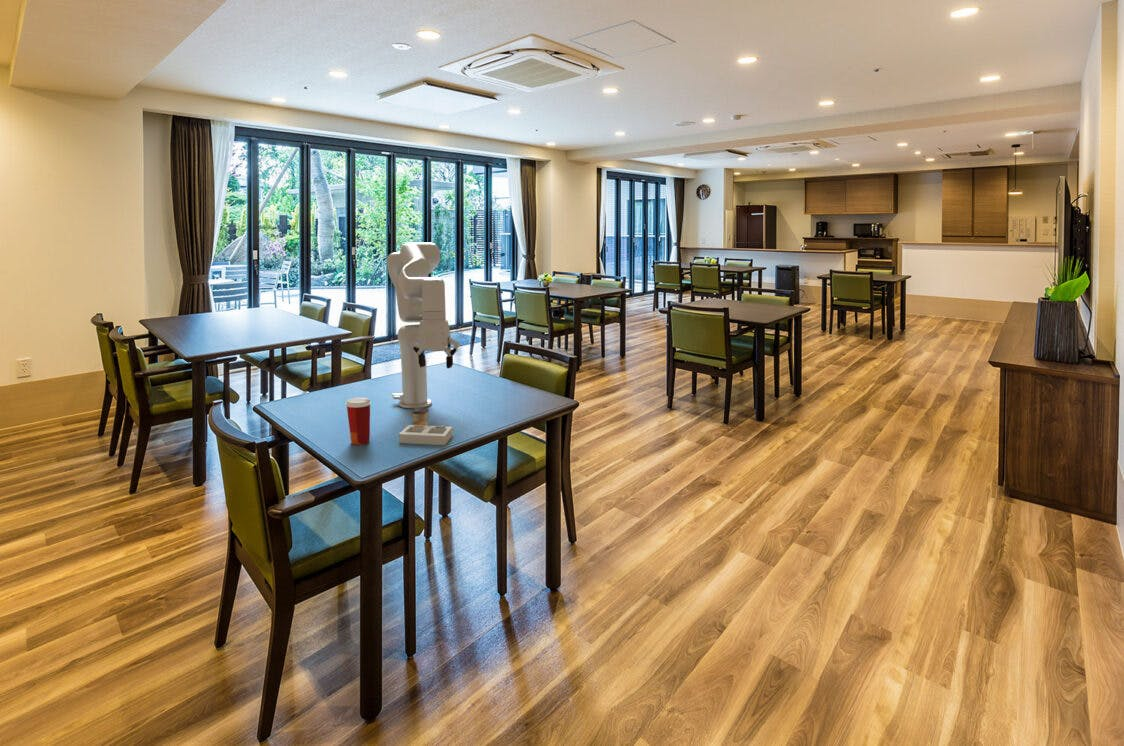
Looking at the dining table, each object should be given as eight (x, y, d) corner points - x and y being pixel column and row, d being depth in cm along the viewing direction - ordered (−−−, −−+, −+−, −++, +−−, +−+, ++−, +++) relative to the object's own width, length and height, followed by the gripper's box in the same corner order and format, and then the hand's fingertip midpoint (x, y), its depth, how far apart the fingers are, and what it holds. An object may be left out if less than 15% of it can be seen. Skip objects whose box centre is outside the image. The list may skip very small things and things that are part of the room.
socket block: (399, 442, 198) (398, 433, 197) (409, 433, 208) (409, 423, 207) (444, 445, 197) (444, 435, 196) (452, 435, 207) (452, 425, 206)
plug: (413, 430, 211) (412, 411, 209) (417, 427, 215) (416, 407, 213) (425, 431, 210) (424, 411, 209) (428, 427, 214) (428, 408, 213)
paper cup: (375, 438, 202) (373, 397, 199) (369, 446, 195) (367, 403, 192) (351, 438, 202) (349, 396, 199) (344, 446, 194) (341, 403, 191)
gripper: (404, 316, 202) (407, 367, 205) (454, 317, 198) (455, 370, 201) (415, 314, 209) (417, 364, 212) (462, 315, 205) (464, 366, 209)
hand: (435, 367), depth 207 cm, fingers open, 9 cm apart
